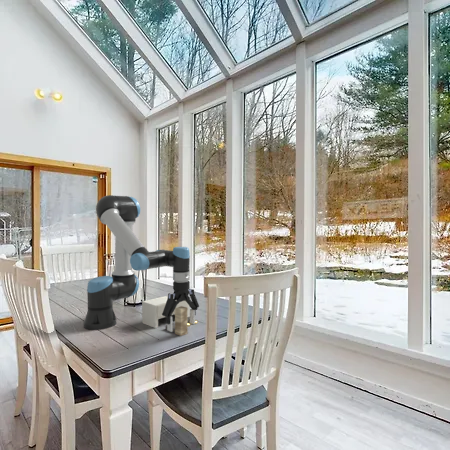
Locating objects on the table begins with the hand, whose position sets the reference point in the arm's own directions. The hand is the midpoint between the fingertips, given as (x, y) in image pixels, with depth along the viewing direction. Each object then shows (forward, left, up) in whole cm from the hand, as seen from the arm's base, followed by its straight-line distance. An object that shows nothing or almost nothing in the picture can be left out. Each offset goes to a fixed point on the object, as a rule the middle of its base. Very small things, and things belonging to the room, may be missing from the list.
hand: (181, 327), depth 146 cm
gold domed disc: (+14, +7, -3) cm, 16 cm away
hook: (+6, +4, -3) cm, 8 cm away
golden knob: (+9, +7, -3) cm, 12 cm away
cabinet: (+8, +21, -3) cm, 22 cm away
